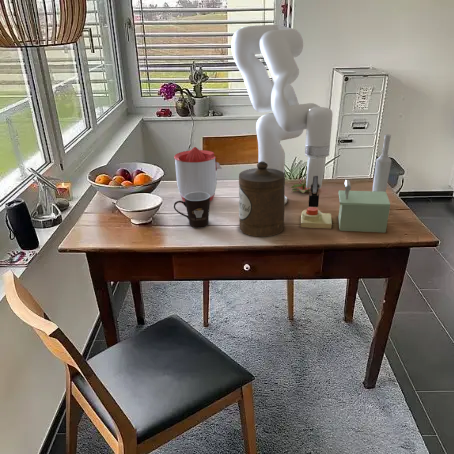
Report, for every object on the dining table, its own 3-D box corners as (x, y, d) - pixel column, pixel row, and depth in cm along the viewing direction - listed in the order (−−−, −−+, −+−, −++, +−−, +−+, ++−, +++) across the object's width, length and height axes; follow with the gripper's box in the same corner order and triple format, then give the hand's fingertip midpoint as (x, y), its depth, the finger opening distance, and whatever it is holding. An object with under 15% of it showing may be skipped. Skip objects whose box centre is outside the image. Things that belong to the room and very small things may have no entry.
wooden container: (240, 219, 165) (239, 155, 153) (282, 219, 164) (285, 155, 152) (238, 237, 152) (237, 169, 140) (284, 237, 151) (287, 169, 139)
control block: (300, 227, 158) (301, 217, 156) (301, 216, 165) (302, 207, 163) (331, 228, 156) (332, 218, 154) (330, 218, 164) (331, 208, 162)
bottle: (382, 202, 175) (394, 133, 162) (385, 208, 170) (397, 136, 157) (368, 202, 175) (378, 133, 162) (370, 207, 171) (381, 136, 158)
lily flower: (319, 185, 192) (320, 174, 190) (317, 195, 182) (318, 184, 180) (289, 184, 195) (290, 173, 192) (286, 194, 185) (287, 182, 182)
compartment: (339, 230, 155) (342, 205, 150) (338, 217, 164) (341, 192, 160) (385, 232, 153) (390, 206, 148) (381, 218, 162) (385, 194, 158)
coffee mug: (215, 220, 164) (213, 193, 159) (206, 230, 157) (204, 202, 152) (184, 217, 167) (182, 190, 162) (174, 226, 160) (171, 198, 155)
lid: (339, 204, 150) (341, 188, 147) (338, 192, 160) (340, 176, 157) (390, 206, 148) (393, 190, 145) (385, 193, 158) (388, 178, 155)
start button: (306, 215, 158) (306, 210, 157) (306, 211, 161) (307, 206, 160) (317, 216, 158) (317, 211, 157) (317, 212, 161) (317, 207, 160)
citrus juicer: (225, 205, 176) (224, 151, 165) (178, 208, 174) (174, 154, 163) (219, 191, 189) (218, 140, 179) (176, 194, 187) (172, 142, 177)
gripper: (305, 144, 155) (302, 198, 164) (304, 156, 142) (301, 214, 152) (329, 144, 154) (324, 198, 163) (330, 156, 141) (325, 214, 151)
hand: (313, 205), depth 158 cm, fingers closed
